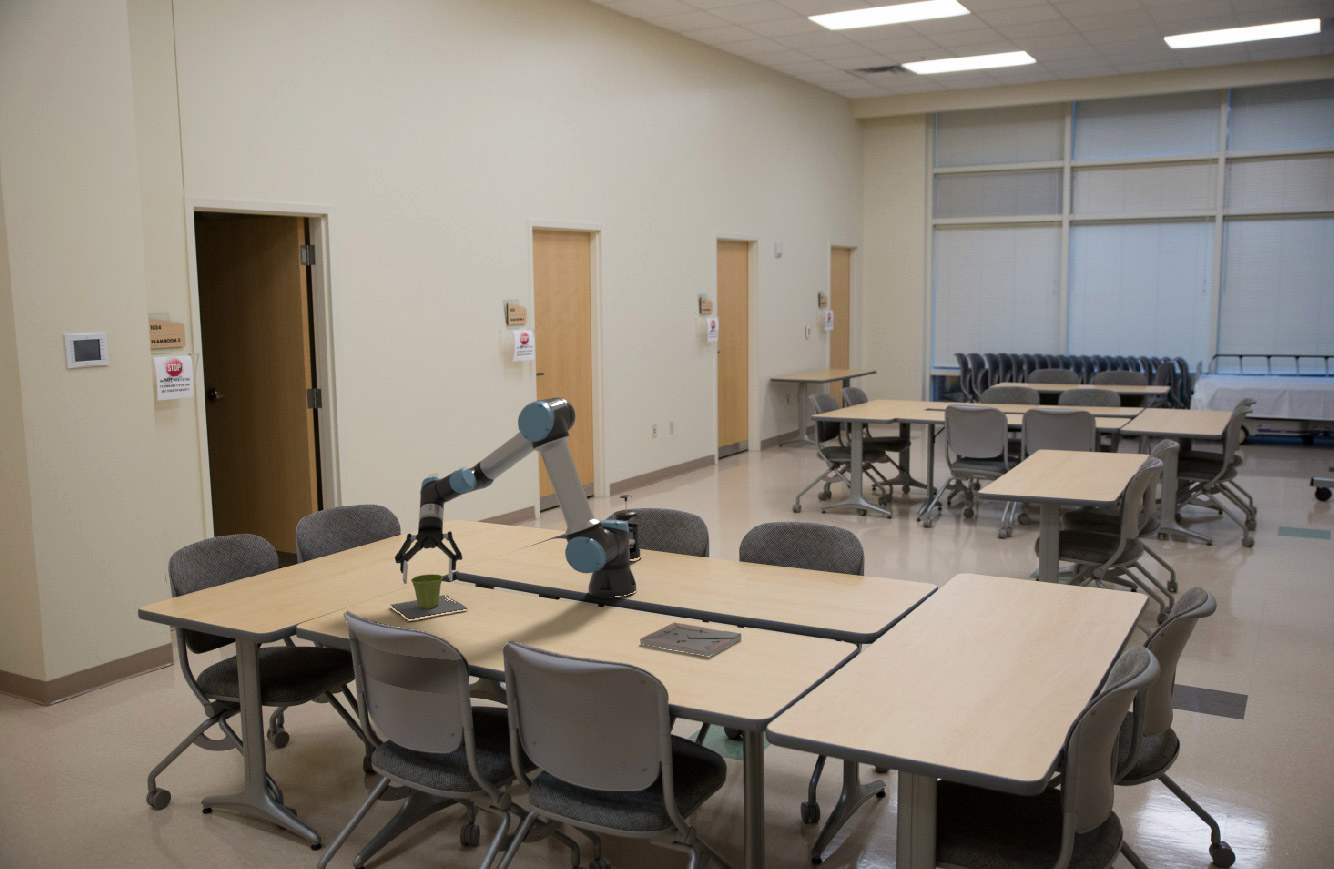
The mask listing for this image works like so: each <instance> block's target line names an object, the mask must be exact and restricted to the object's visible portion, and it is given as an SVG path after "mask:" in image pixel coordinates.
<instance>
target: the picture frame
mask: <svg viewBox="0 0 1334 869" xmlns="http://www.w3.org/2000/svg"><path fill="white" fill-rule="evenodd" d="M639 640H640V641H639V642H640V644H644V645H643V646H645V645H649V646H648V647H650V646H655V647H661V648H666V649H672V650H678V651H684V652H688V653H694V654H700V655H704V656H711V655H713V654H715V653H717V652H719V651H720V652H722V651H724V650H725V648H726V647H728V646H729V647H731V646H733V645H735V644H737V643H738V642H740V641H741V640H742V633H740V632H735V631H729V630H719V629H713V628H708V627H704V626H703V627H702V626H698V625H692V624H685V623H680V622H672V623H670V624H668V625H667V626H664V627H661V628H660V629H658V630H656V631H654V632H651V633H649V634H648V635H646V636H643V637H641V638H640V639H639ZM737 641H738V642H737ZM734 643H735V644H734ZM640 644H639V645H640ZM732 644H733V645H732ZM730 645H731V646H730ZM655 647H654V648H655ZM729 647H728V648H729ZM661 648H660V649H661ZM666 649H665V650H666ZM723 649H724V650H723ZM726 649H727V648H726ZM721 650H722V651H721ZM720 652H719V653H720ZM717 654H718V653H717ZM715 655H716V654H715ZM713 656H714V655H713Z"/></svg>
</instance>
